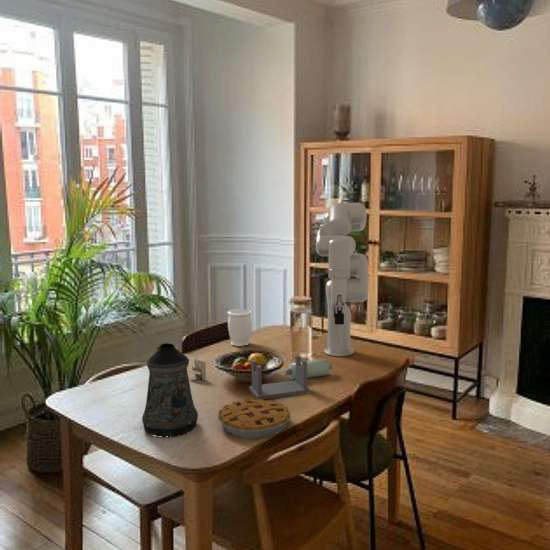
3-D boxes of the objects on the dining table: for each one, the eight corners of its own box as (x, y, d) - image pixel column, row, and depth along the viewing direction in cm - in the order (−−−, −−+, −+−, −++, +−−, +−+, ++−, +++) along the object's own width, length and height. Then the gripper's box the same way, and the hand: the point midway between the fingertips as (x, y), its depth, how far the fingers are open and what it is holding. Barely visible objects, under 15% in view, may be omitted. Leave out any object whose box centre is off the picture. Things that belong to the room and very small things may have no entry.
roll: (283, 377, 217) (283, 361, 216) (327, 371, 223) (327, 356, 222) (288, 382, 212) (288, 366, 211) (333, 376, 217) (334, 361, 216)
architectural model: (199, 383, 213) (199, 364, 211) (186, 379, 217) (185, 360, 216) (206, 380, 215) (205, 361, 214) (193, 376, 220) (192, 358, 218)
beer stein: (166, 443, 165) (162, 359, 160) (125, 425, 177) (121, 346, 173) (209, 424, 177) (206, 345, 173) (168, 408, 189) (165, 334, 185)
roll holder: (249, 389, 205) (248, 359, 203) (299, 382, 211) (299, 353, 209) (257, 399, 196) (256, 368, 194) (309, 392, 202) (309, 362, 200)
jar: (225, 347, 255) (225, 313, 252) (231, 340, 265) (230, 308, 262) (249, 348, 253) (249, 314, 250) (254, 341, 263) (253, 309, 260)
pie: (239, 448, 162) (239, 431, 161) (206, 420, 180) (205, 405, 179) (304, 429, 173) (304, 413, 172) (266, 405, 192) (266, 390, 191)
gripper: (328, 269, 214) (327, 314, 217) (329, 278, 197) (328, 327, 200) (348, 269, 213) (348, 315, 216) (351, 278, 196) (350, 327, 199)
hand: (338, 320), depth 208 cm, fingers open, 9 cm apart
